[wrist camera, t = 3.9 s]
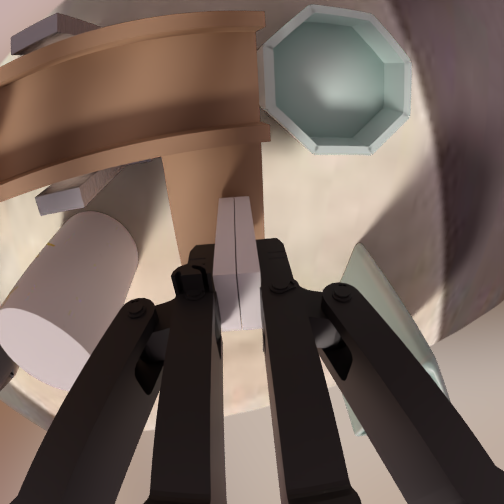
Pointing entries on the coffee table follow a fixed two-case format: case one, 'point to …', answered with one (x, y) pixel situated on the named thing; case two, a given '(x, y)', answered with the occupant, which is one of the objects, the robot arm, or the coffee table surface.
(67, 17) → the fulcrum
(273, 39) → the bowl
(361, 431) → the planter
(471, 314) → the coffee table surface
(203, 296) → the robot arm
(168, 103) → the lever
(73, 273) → the pale pink cylinder
